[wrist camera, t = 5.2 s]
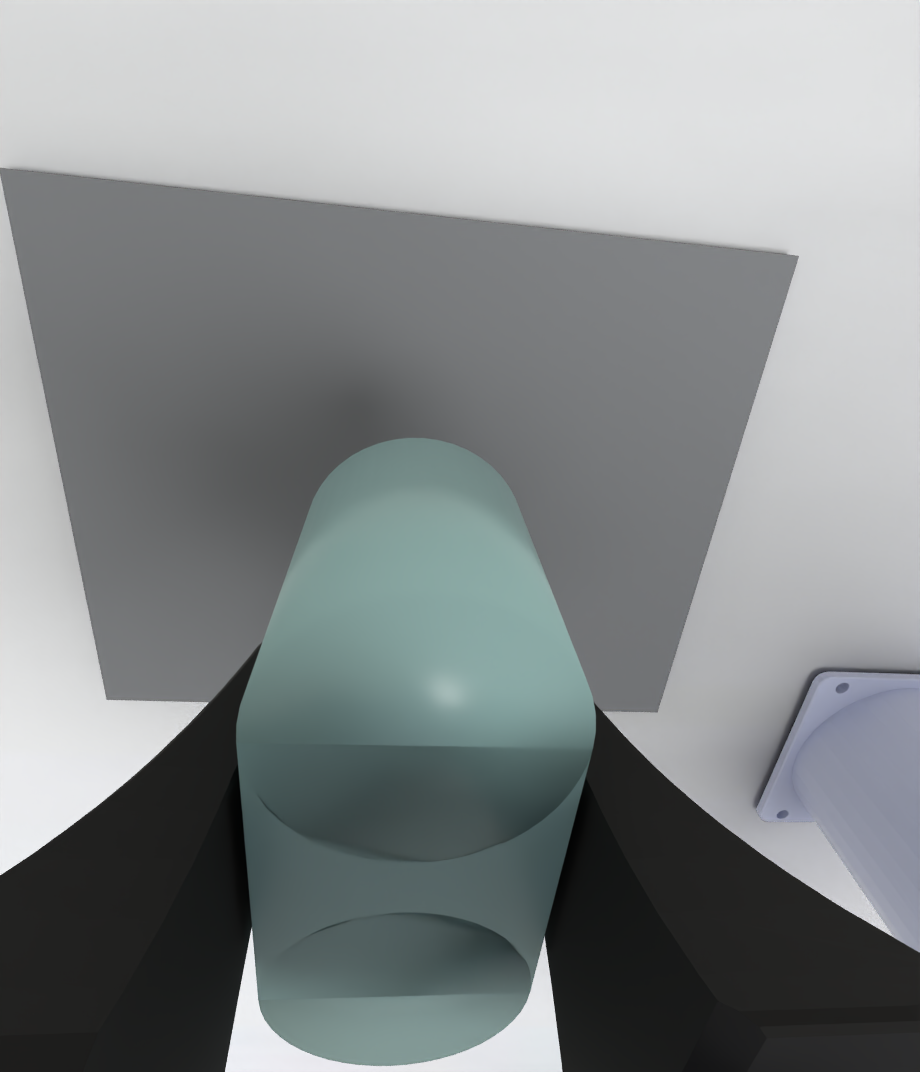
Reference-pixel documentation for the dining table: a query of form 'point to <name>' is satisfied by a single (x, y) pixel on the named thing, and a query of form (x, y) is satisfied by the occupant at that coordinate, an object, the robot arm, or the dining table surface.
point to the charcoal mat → (376, 404)
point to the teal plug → (408, 762)
